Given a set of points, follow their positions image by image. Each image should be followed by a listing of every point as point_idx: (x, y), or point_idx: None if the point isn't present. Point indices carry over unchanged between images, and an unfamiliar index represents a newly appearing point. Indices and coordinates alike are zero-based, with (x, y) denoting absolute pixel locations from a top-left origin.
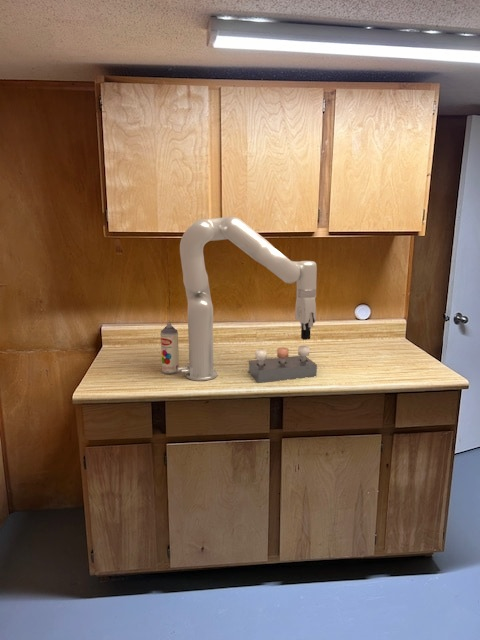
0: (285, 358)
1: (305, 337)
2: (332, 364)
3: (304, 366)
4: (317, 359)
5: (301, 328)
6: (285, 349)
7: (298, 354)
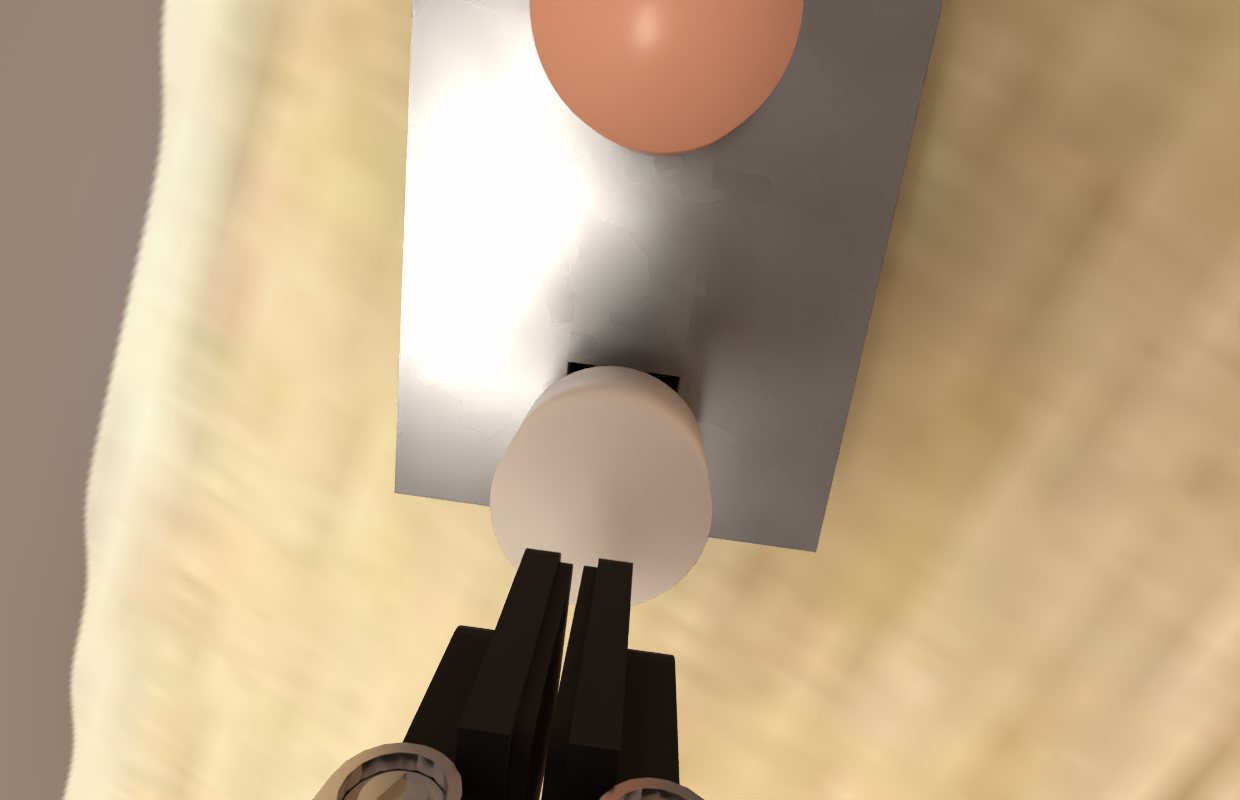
0: (822, 217)
1: (490, 631)
2: (707, 776)
3: (405, 307)
4: (921, 740)
5: (653, 789)
6: (616, 55)
7: (630, 370)
